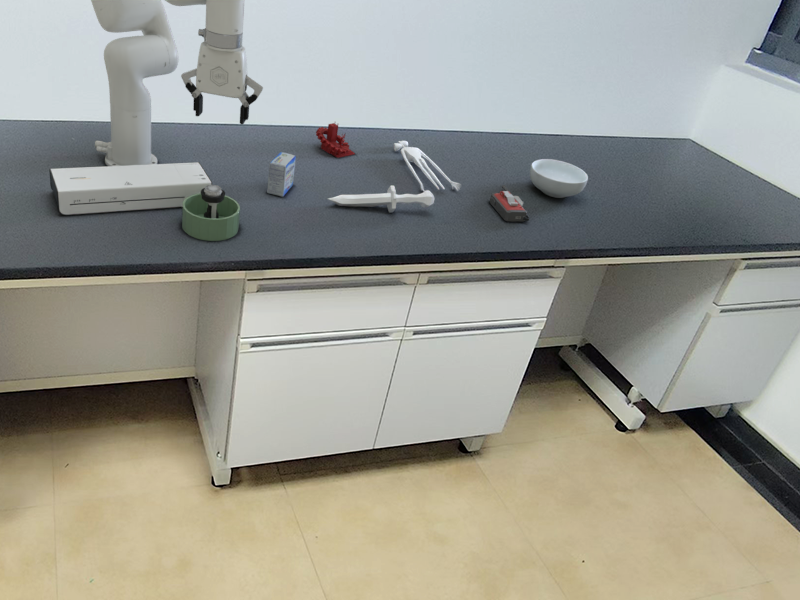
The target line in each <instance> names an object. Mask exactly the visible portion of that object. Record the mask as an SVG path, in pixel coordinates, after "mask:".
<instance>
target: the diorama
mask: <svg viewBox="0 0 800 600" xmlns="http://www.w3.org/2000/svg"><path fill="white" fill-rule="evenodd" d="M338 131H339V123H335V122H333V123H328V124H327V127H323V126H321V127H318V128H317V130H316V131H315V136H316V137H317V139H318V140H319V142H320V144H321V145H320V149H321V150H322V151H324V152H326V153H328V154H329V155H332V156H334V157H335V158H337V159H339V158H343V157H349V156H353V155H354V156H355V155H356V154H355V152H354V151H352V150H351V149H350V144H349V143H348V142H345V141H346V140H345V138H346V133H341V135H339V134H338ZM325 135H326V136H325Z"/></svg>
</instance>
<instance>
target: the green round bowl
mask: <svg viewBox="0 0 800 600" xmlns="http://www.w3.org/2000/svg"><path fill="white" fill-rule="evenodd" d="M207 208H208V203H207V202H205V201H204V200H203V199H202V195H201V193H198V194H194V195H191V196H189V197H187V198H186V199H184V201H183V203H182V207H181V228H182V231H184V233H186V234H187V235H188V236H190V237H192V238H193V239H197V240H201V241H207V242H219V241H225V240H229V239H231V238H233V237H235V236H236V235H237V234H238V232H239V229H240V217H241V216H240V215H241V207H240V203H238V201H237V200H235V199H234V198H232V197H230V196H229V195H225V196H224V200H223V201H222V202H220V203H218V204H217V212H218V213H219V218H205V217H204V213H205V212H207Z"/></svg>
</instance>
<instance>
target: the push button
mask: <svg viewBox="0 0 800 600" xmlns="http://www.w3.org/2000/svg"><path fill="white" fill-rule="evenodd" d="M201 195H202V199H203V200H204V201H205V202H207V203H208V208H207V212H205V213H204V217H205V218H219V213H218V212H217V204H218V203H220V202H222V201H223V200H224V196H226V191H225V190H224V189H222V187H221V186H220V185H217V184H212V185H207V186H206V187H205V188H203V189H202V190H201Z"/></svg>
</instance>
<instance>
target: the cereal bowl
mask: <svg viewBox="0 0 800 600" xmlns="http://www.w3.org/2000/svg"><path fill="white" fill-rule="evenodd" d="M529 178H530V181H531V182H532V184H533V186H534V187H536V188H537V189H538V190H540V191H541V193H543V194H544V195H546V196H549V197H552V198H556V199H563V198H566V197H568V198H569V197H574V196H577V195H579V194H580V193H581V192H583V191H584V189H585V188H586V185H587V183H588V180H589V176H588V173H586V172H585V171H584V170H583V169H581V168H580V167H578V166H577V165H575V164H572V163H569V162H565V161H563V160H558V159H551V158H542V159H536V160H534V161H533V162H531V165H530V170H529Z"/></svg>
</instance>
